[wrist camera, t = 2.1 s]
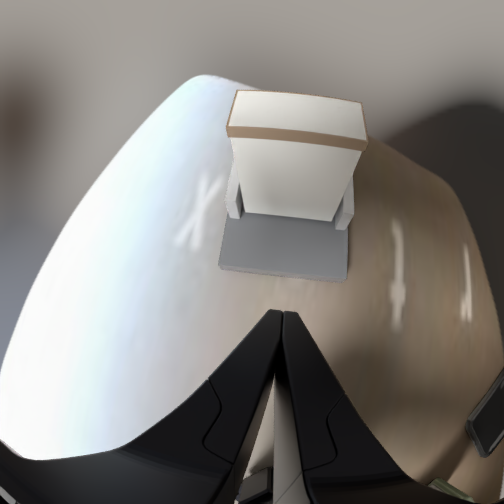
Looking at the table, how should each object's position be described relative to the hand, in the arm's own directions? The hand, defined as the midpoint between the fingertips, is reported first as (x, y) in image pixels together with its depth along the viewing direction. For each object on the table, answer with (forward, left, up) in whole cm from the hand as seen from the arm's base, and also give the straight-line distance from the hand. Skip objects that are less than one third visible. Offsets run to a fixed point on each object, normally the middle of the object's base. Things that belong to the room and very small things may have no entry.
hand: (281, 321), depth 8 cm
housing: (+7, -8, -14) cm, 17 cm away
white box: (+8, -8, -12) cm, 16 cm away
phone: (-25, -16, -14) cm, 32 cm away
